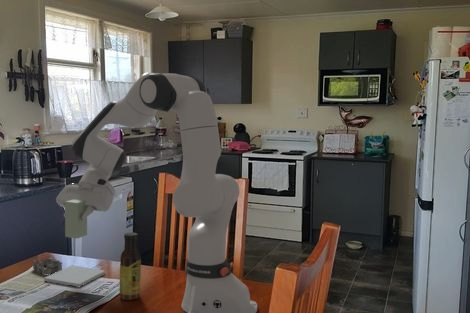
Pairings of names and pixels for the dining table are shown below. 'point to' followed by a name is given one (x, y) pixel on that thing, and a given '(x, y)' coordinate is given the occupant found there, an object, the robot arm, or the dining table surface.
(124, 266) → the sauce bottle
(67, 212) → the sage block
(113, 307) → the dining table surface
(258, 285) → the dining table surface
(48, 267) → the mossy rock
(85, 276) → the tile
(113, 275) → the dining table surface
